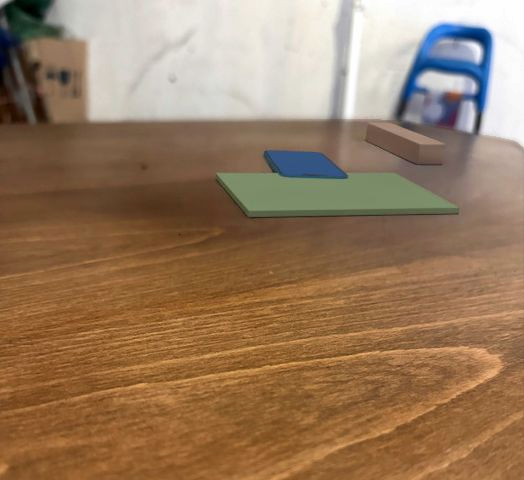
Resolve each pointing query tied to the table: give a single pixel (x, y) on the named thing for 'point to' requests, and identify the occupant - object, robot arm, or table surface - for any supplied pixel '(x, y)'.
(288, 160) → the smartphone
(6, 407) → the table surface
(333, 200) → the mat
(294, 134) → the table surface
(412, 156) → the strip
